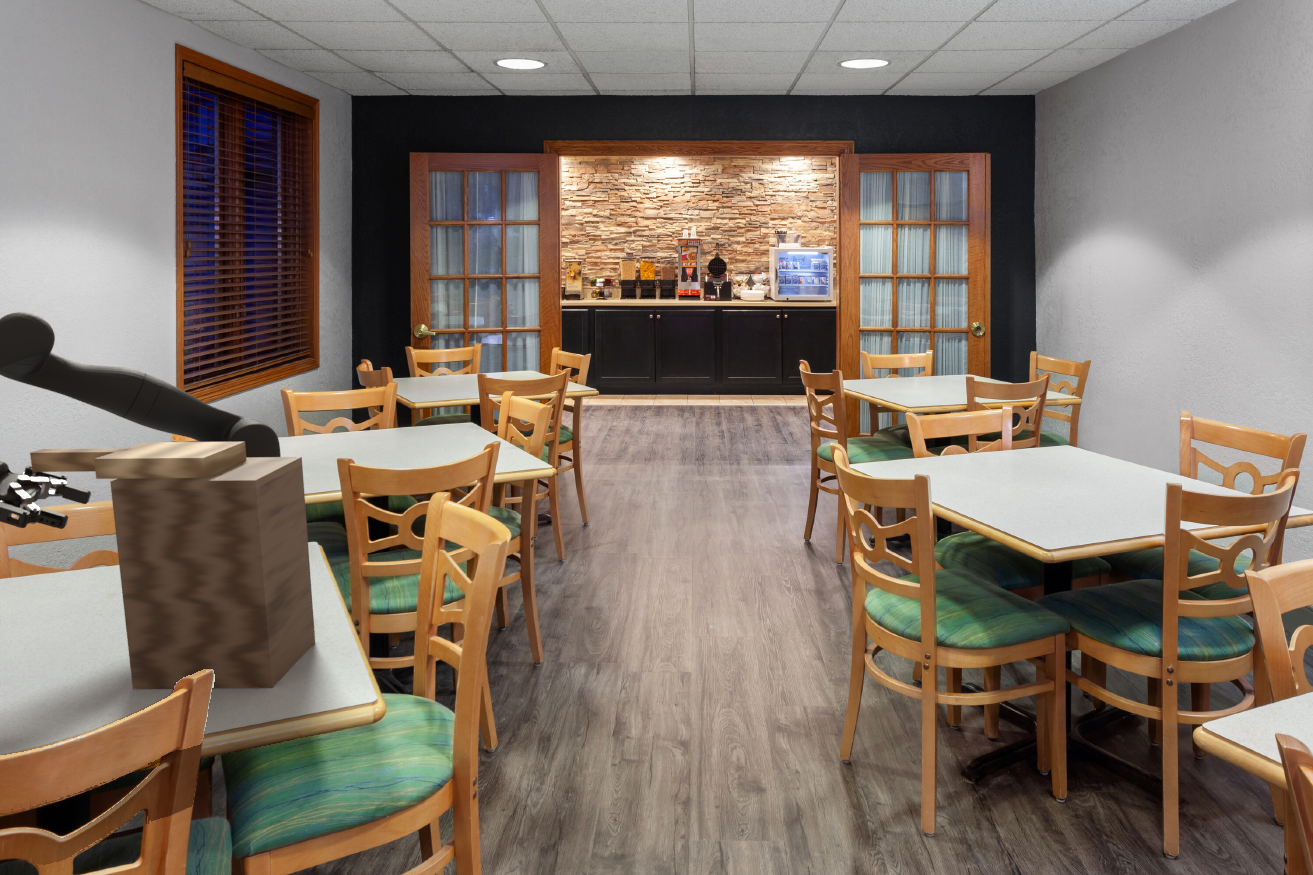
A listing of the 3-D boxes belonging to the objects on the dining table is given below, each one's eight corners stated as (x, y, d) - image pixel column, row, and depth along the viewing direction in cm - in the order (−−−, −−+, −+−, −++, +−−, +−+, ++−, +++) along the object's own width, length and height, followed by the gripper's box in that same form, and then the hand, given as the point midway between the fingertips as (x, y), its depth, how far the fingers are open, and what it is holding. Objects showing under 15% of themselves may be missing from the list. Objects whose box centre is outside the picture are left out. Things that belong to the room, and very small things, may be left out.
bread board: (246, 459, 149) (244, 441, 149) (205, 477, 136) (203, 457, 135) (67, 461, 149) (65, 443, 149) (7, 479, 135) (5, 459, 135)
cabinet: (315, 641, 157) (301, 457, 151) (272, 687, 139) (255, 480, 134) (191, 642, 157) (173, 458, 151) (132, 689, 139) (110, 481, 133)
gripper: (-58, 475, 133) (64, 510, 138) (-8, 437, 146) (102, 471, 151) (-68, 518, 135) (52, 552, 140) (-18, 477, 148) (90, 509, 153)
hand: (78, 510), depth 145 cm, fingers open, 8 cm apart
